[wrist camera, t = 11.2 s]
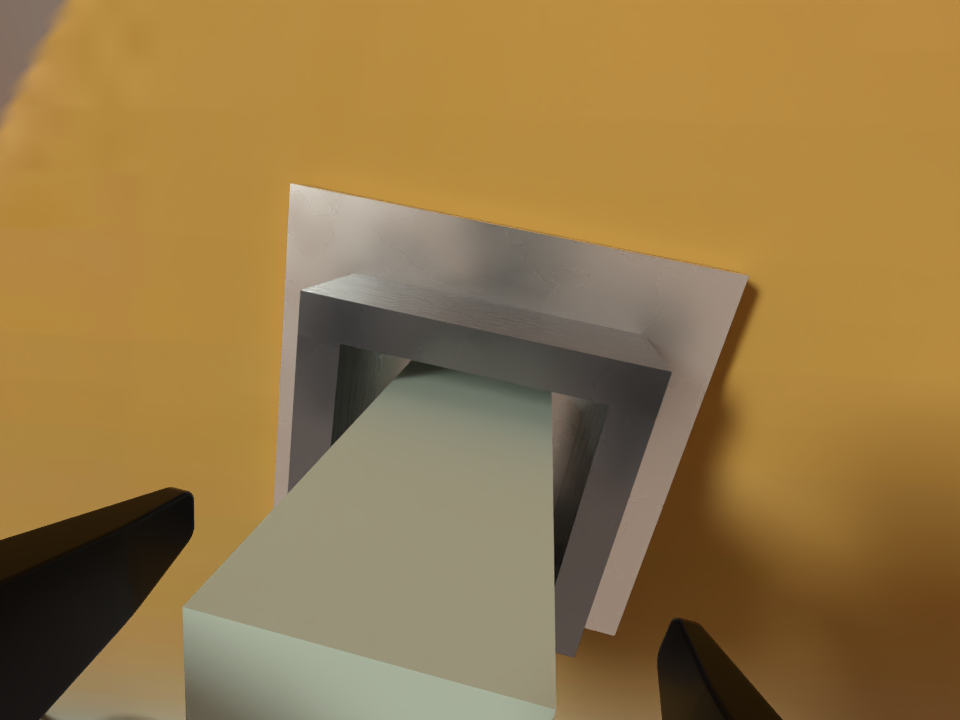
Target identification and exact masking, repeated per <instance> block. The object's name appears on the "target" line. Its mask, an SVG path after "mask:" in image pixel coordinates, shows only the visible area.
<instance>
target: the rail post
mask: <svg viewBox="0 0 960 720" xmlns="http://www.w3.org/2000/svg"><path fill="white" fill-rule="evenodd" d="M183 634H184V666H185V699H186V720H553V718H554V715H555V712H556V659H555V589H554V519H553V449H552V392H550V391H545V390H541V389H537V388H532V387H528V386H523V385H519V384H515V383H510V382H506V381H501V380H497V379H493V378H488V377H484V376H479V375H475V374H471V373H466V372H462V371H457V370H453V369H449V368H444V367H440V366H435V365H431V364H427V363H422V362H418V361H413V360H411V361H410V362H409V363H408V365H407V366H406V367H405V368H404V369H403V370H402V371H401V372H400V373H399V374H398V375H397V376H396V377H395V379H394V380H393V381H392V382H391V383H390V384H389V385H388V386H387V387H386V388H385V389H384V390H383V391H382V393H381V394H380V395H379V396H378V397H377V398H376V399H375V400H374V401H373V402H372V403H371V404H370V405H369V407H368V408H367V409H366V410H365V411H364V412H363V413H362V414H361V415H360V416H359V417H358V418H357V420H356V421H355V422H354V423H353V424H352V425H351V426H350V427H349V428H348V429H347V430H346V431H345V432H344V434H343V435H342V436H341V437H340V438H339V439H338V440H337V441H336V442H335V443H334V444H333V445H332V446H331V448H330V449H329V450H328V451H327V452H326V453H325V454H324V455H323V456H322V457H321V458H320V459H319V460H318V462H317V463H316V464H315V465H314V466H313V467H312V468H311V469H310V470H309V471H308V472H307V473H306V475H305V476H304V477H303V478H302V479H301V480H300V481H299V482H298V483H297V484H296V485H295V486H294V487H293V489H292V490H291V491H290V492H289V493H288V494H287V495H286V496H285V497H284V498H283V499H282V500H281V501H280V503H279V504H278V505H277V506H276V507H275V508H274V509H273V510H272V511H271V512H270V513H269V514H268V515H267V517H266V518H265V519H264V520H263V521H262V522H261V523H260V524H259V525H258V526H257V527H256V528H255V530H254V531H253V532H252V533H251V534H250V535H249V536H248V537H247V538H246V539H245V540H244V541H243V542H242V544H241V545H240V546H239V547H238V548H237V549H236V550H235V551H234V552H233V553H232V554H231V555H230V556H229V558H228V559H227V560H226V561H225V562H224V563H223V564H222V565H221V566H220V567H219V568H218V569H217V570H216V572H215V573H214V574H213V575H212V576H211V577H210V578H209V579H208V580H207V581H206V582H205V583H204V584H203V586H202V587H201V588H200V589H199V590H198V591H197V592H196V593H195V594H194V595H193V596H192V597H191V599H190V600H189V601H188V602H187V603H186V604H185V605H184V606H183Z"/></svg>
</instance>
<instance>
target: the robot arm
mask: <svg viewBox="0 0 960 720" xmlns="http://www.w3.org/2000/svg"><path fill="white" fill-rule="evenodd" d="M193 531H194V497H193V495H192V493H190V492H189V491H186V490H182V489H178V488H173V487H168V488H165V489H162V490H158V491H155V492H152V493H149V494H146V495H142V496H139V497H136V498H133V499H130V500H127V501H123V502H120V503H117V504H114V505H111V506H107V507H104V508H101V509H98V510H95V511H92V512H88V513H85V514H82V515H79V516H76V517H72V518H69V519H66V520H63V521H60V522H57V523H53V524H50V525H47V526H44V527H41V528H37V529H34V530H31V531H28V532H25V533H22V534H18V535H15V536H12V537H9V538H6V539H2V540H0V720H40V719H41V717H42V716H43V715H44V714H45V713H46V712H47V711H48V710H49V708H50V707H51V706H52V705H53V704H54V703H55V702H56V701H57V700H58V698H59V697H60V696H61V695H62V694H63V693H64V692H65V691H66V690H67V688H68V687H69V686H70V685H71V684H72V683H73V682H74V681H75V680H76V678H77V677H78V676H79V675H80V674H81V673H82V672H83V671H84V669H85V668H86V667H87V666H88V665H89V664H90V663H91V662H92V661H93V659H94V658H95V657H96V656H97V655H98V654H99V653H100V652H101V651H102V649H103V648H104V647H105V646H106V645H107V644H108V643H109V642H110V641H111V639H112V638H113V637H114V636H115V635H116V634H117V633H118V632H119V630H120V629H121V628H122V627H123V626H124V625H125V624H126V622H127V621H128V620H129V619H130V618H131V617H132V615H133V614H134V613H135V612H136V610H137V609H138V608H139V607H140V605H141V604H142V603H143V602H144V600H145V599H146V598H147V596H148V595H149V594H150V592H151V591H152V590H153V588H154V587H155V586H156V584H157V583H158V582H159V580H160V579H161V578H162V576H163V575H164V574H165V572H166V571H167V570H168V568H169V567H170V566H171V564H172V563H173V562H174V560H175V559H176V558H177V556H178V555H179V554H180V552H181V551H182V550H183V548H184V547H185V546H186V544H187V543H188V542H189V540H190V538H191V537H192V534H193ZM657 669H658V680H659V691H660V702H661V713H662V720H782V718H781V717H780V716H779V715H778V714H777V713H776V712H775V710H774V709H773V708H772V707H771V706H770V705H769V703H768V702H767V701H766V700H765V699H764V698H763V696H762V695H761V694H760V693H759V692H758V691H757V689H756V688H755V687H754V686H753V685H752V684H751V683H750V681H749V680H748V679H747V678H746V677H745V676H744V674H743V673H742V672H741V671H740V670H739V669H738V667H737V666H736V665H735V664H734V663H733V662H732V660H731V659H730V658H729V657H728V656H727V655H726V654H725V652H724V651H723V650H722V649H721V648H720V647H719V645H718V644H717V643H716V642H715V641H714V640H713V638H712V637H711V636H710V635H709V634H708V633H707V632H706V630H705V629H704V628H703V627H702V626H701V625H700V624H698V623H696V622H693V621H689V620H686V619H682V618H674V619H673V620H672V621H671V623H670V625H669V627H668V630H667V632H666V635H665V637H664V639H663V642H662V644H661V647H660V649H659V652H658V658H657Z"/></svg>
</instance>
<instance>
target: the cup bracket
mask: <svg viewBox="0 0 960 720" xmlns="http://www.w3.org/2000/svg"><path fill="white" fill-rule="evenodd" d="M748 278H749V276H748V275H744V274H741V273H738V272H734V271H729V270H724V269H719V268H714V267H709V266H704V265H699V264H694V263H689V262H685V261H680V260H675V259H670V258H665V257H660V256H655V255H650V254H645V253H640V252H635V251H630V250H625V249H620V248H615V247H610V246H605V245H600V244H595V243H590V242H585V241H581V240H576V239H571V238H566V237H561V236H556V235H551V234H546V233H541V232H536V231H531V230H526V229H521V228H516V227H511V226H506V225H501V224H496V223H491V222H486V221H481V220H476V219H472V218H467V217H462V216H457V215H452V214H447V213H442V212H437V211H432V210H427V209H422V208H417V207H412V206H407V205H402V204H397V203H392V202H387V201H382V200H377V199H372V198H367V197H363V196H358V195H353V194H348V193H343V192H338V191H333V190H328V189H323V188H318V187H313V186H308V185H301V184H292V183H290V201H289V220H288V240H287V259H286V278H285V298H284V317H283V336H282V356H281V375H280V394H279V414H278V433H277V452H276V472H275V491H274V508H275V507H276V506H277V505H278V504H279V503H280V501H281V500H282V499H283V498H284V497H285V496H286V495H287V494H288V493H289V492H290V491H291V490H292V489H293V487H294V486H295V485H296V484H297V483H298V482H299V481H300V480H301V479H302V478H303V477H304V476H305V475H306V473H307V472H308V471H309V470H310V469H311V468H312V467H313V466H314V465H315V464H316V463H317V462H318V460H319V459H320V458H321V457H322V456H323V455H324V454H325V453H326V452H327V451H328V450H329V449H330V448H331V446H332V445H333V444H334V443H335V442H336V441H337V440H338V439H339V438H340V437H341V436H342V435H343V434H344V432H345V431H346V430H347V429H348V428H349V427H350V426H351V425H352V424H353V423H354V422H355V421H356V420H357V418H358V417H359V416H360V415H361V414H362V413H363V412H364V411H365V410H366V409H367V408H368V407H369V405H370V404H371V403H372V402H373V401H374V400H375V399H376V398H377V397H378V396H379V395H380V394H381V393H382V391H383V390H384V389H385V388H386V387H387V386H388V385H389V384H390V383H391V382H392V381H393V380H394V379H395V377H396V376H397V375H398V374H399V373H400V372H401V371H402V370H403V369H404V368H405V367H406V366H407V365H408V363H409V362H410V361H411V360H413V361H418V362H422V363H427V364H431V365H435V366H440V367H444V368H449V369H453V370H457V371H462V372H466V373H471V374H475V375H479V376H484V377H488V378H493V379H497V380H501V381H506V382H510V383H515V384H519V385H523V386H528V387H532V388H537V389H541V390H545V391H550V392H552V449H553V519H554V589H555V653H559V654H563V655H566V656H570V657H575V654H576V651H577V648H578V645H579V643H580V640H581V637H582V634H583V631H584V628H586V629H590V630H594V631H598V632H602V633H605V634H609V635H613V636H615V634H616V631H617V628H618V626H619V623H620V620H621V618H622V615H623V612H624V610H625V607H626V604H627V601H628V599H629V596H630V593H631V591H632V588H633V585H634V583H635V580H636V577H637V575H638V572H639V569H640V567H641V564H642V561H643V559H644V556H645V553H646V551H647V548H648V545H649V543H650V540H651V537H652V535H653V532H654V529H655V527H656V524H657V521H658V519H659V516H660V513H661V510H662V508H663V505H664V502H665V500H666V497H667V494H668V492H669V489H670V486H671V484H672V481H673V478H674V476H675V473H676V470H677V468H678V465H679V462H680V460H681V457H682V454H683V452H684V449H685V446H686V444H687V441H688V438H689V436H690V433H691V430H692V428H693V425H694V422H695V419H696V417H697V414H698V411H699V409H700V406H701V403H702V401H703V398H704V395H705V393H706V390H707V387H708V385H709V382H710V379H711V377H712V374H713V371H714V369H715V366H716V363H717V361H718V358H719V355H720V353H721V350H722V347H723V345H724V342H725V339H726V336H727V334H728V331H729V328H730V326H731V323H732V320H733V318H734V315H735V312H736V310H737V307H738V304H739V302H740V299H741V296H742V294H743V291H744V288H745V286H746V283H747V280H748Z"/></svg>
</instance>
